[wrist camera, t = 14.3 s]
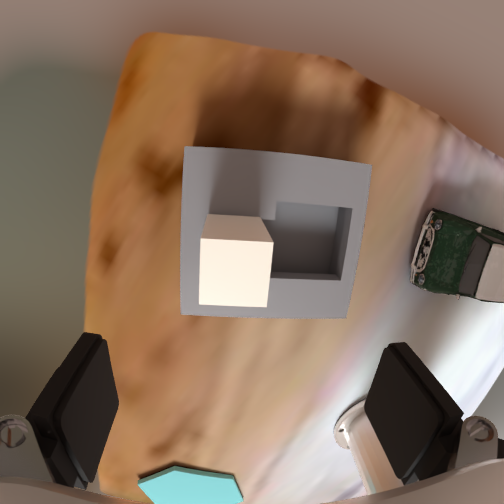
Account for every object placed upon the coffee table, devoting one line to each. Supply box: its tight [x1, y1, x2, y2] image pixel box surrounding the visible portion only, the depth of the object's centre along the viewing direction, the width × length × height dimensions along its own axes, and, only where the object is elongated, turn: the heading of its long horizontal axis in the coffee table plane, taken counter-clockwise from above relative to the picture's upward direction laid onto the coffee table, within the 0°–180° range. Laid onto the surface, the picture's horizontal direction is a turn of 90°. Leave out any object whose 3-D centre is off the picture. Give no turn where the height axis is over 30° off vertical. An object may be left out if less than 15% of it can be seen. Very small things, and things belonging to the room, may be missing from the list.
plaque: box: [138, 466, 243, 504], centre depth 44 cm, size 18×2×20 cm
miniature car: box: [410, 208, 504, 303], centre depth 30 cm, size 9×18×8 cm, turn 79°
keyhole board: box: [180, 146, 372, 319], centre depth 28 cm, size 15×14×6 cm
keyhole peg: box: [199, 214, 274, 307], centre depth 23 cm, size 5×5×12 cm
